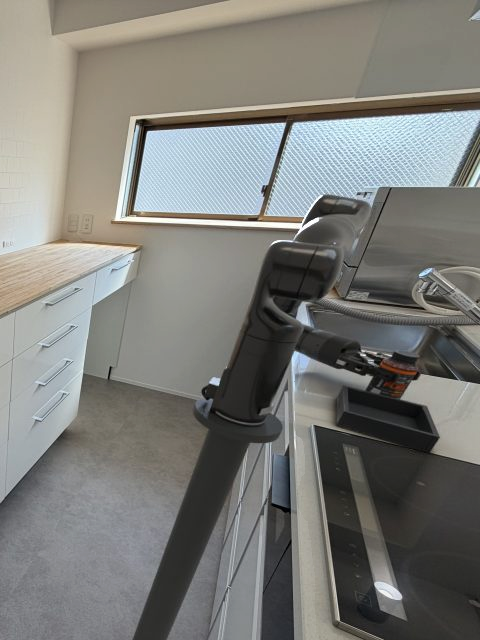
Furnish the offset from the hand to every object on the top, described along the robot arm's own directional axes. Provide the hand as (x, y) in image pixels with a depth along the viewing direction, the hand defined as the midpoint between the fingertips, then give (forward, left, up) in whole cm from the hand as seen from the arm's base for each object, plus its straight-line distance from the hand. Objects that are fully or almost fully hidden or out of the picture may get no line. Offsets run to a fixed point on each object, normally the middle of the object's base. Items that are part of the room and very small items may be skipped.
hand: (407, 377), depth 89 cm
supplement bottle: (-2, +1, -7) cm, 7 cm away
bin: (-3, -12, -7) cm, 15 cm away
